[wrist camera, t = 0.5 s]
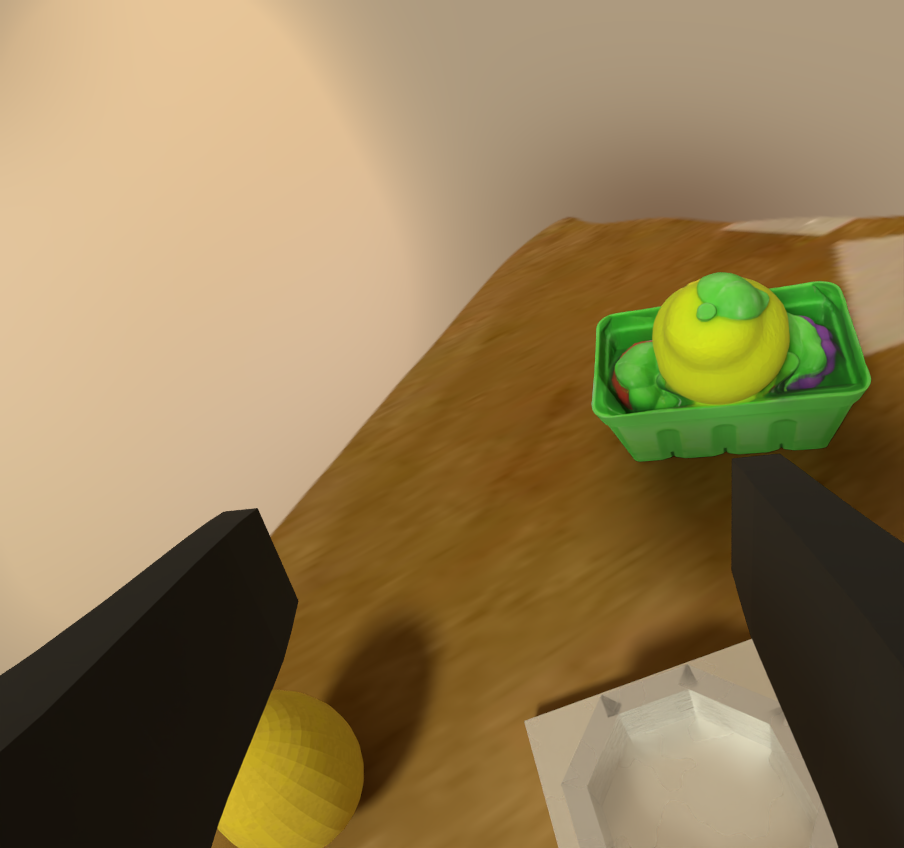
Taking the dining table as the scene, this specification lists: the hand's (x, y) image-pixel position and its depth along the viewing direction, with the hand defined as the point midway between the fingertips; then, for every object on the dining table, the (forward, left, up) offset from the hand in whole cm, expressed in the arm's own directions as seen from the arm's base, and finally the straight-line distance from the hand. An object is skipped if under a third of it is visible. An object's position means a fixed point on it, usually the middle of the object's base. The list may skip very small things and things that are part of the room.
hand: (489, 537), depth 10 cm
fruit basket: (+16, -11, -19) cm, 27 cm away
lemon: (+5, +12, -19) cm, 24 cm away
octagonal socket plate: (0, -2, -19) cm, 19 cm away
